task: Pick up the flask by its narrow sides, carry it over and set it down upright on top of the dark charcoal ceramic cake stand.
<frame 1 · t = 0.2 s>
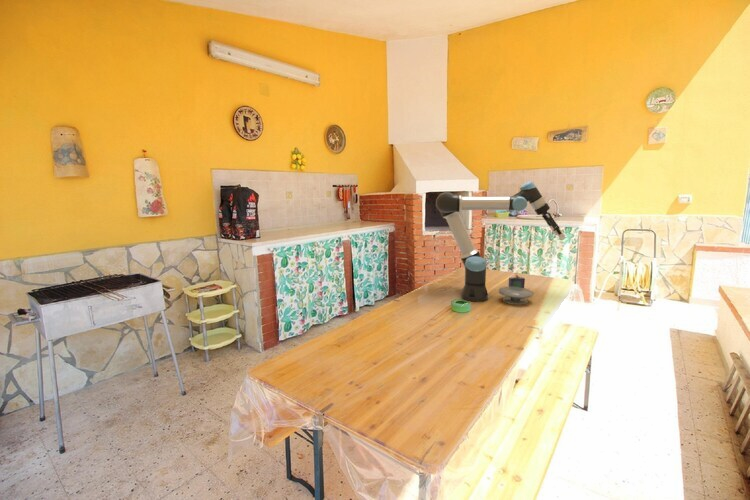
hand: (560, 236, 205), 35 cm above the table, tool tilted 35°, fingers open, 13 cm apart
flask: (515, 292, 219), on the table
cake stand: (515, 301, 202), on the table
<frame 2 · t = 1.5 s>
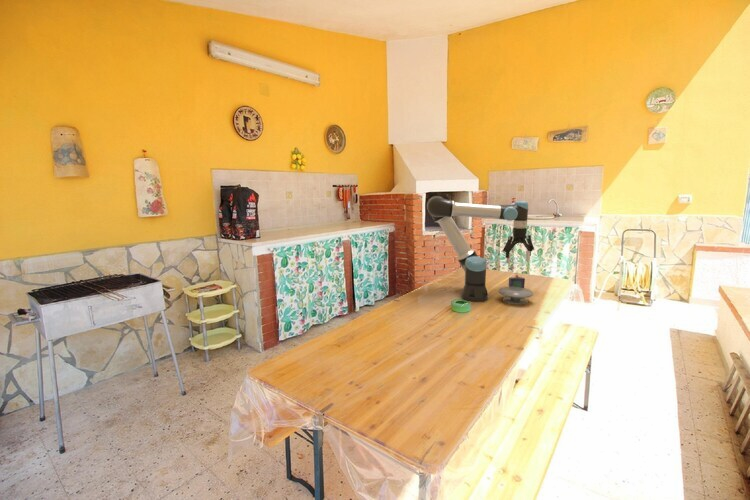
hand: (517, 262, 216), 18 cm above the table, tool pointing down, fingers open, 13 cm apart
nothing on the table moved.
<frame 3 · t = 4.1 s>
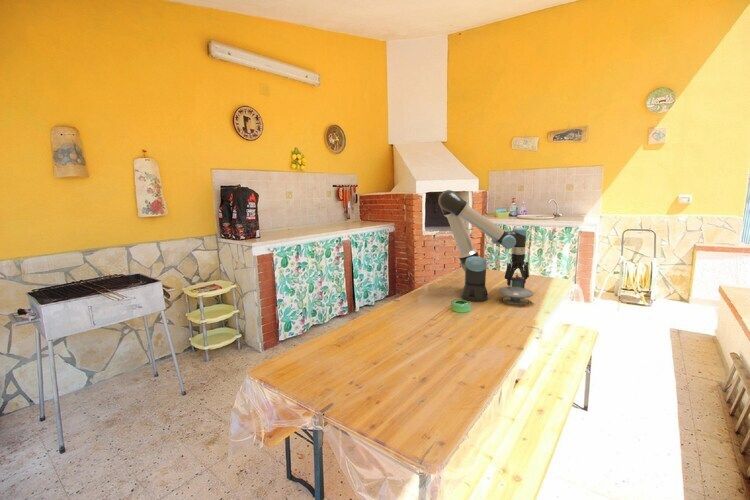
hand: (516, 289, 219), 1 cm above the table, tool pointing down, fingers closed on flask, 8 cm apart
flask: (516, 291, 219), on the table, touching gripper
when the fingers open (9 cm above the table, at t = 9.3 s): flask drops 1 cm, resting on cake stand.
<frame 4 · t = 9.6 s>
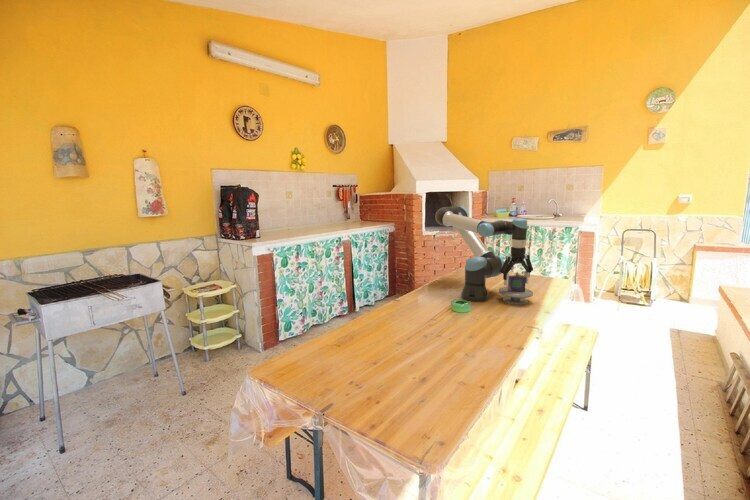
hand: (516, 284, 200), 10 cm above the table, tool pointing down, fingers open, 12 cm apart
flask: (516, 291, 201), point 6 cm above the table, touching cake stand
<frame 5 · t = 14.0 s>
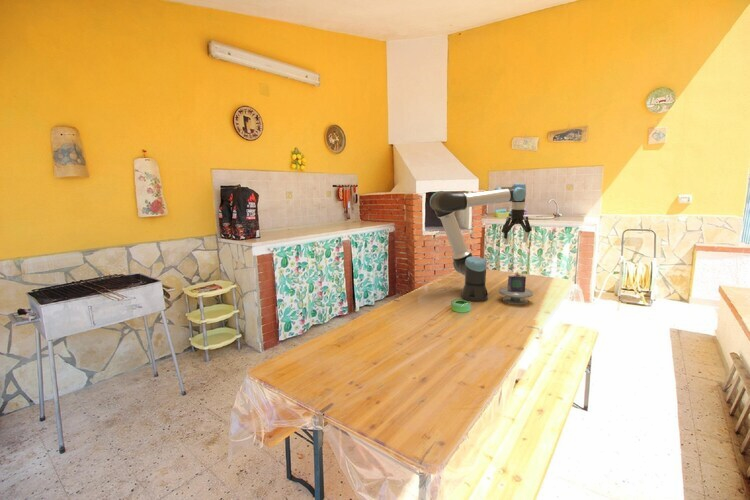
hand: (515, 243, 222), 29 cm above the table, tool pointing down, fingers open, 13 cm apart
nothing on the table moved.
at the end: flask inside the target area on the cake stand (0.2 cm from its centre), point 5.8 cm above the cake stand's base; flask tilted 2°; the gripper is holding nothing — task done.
